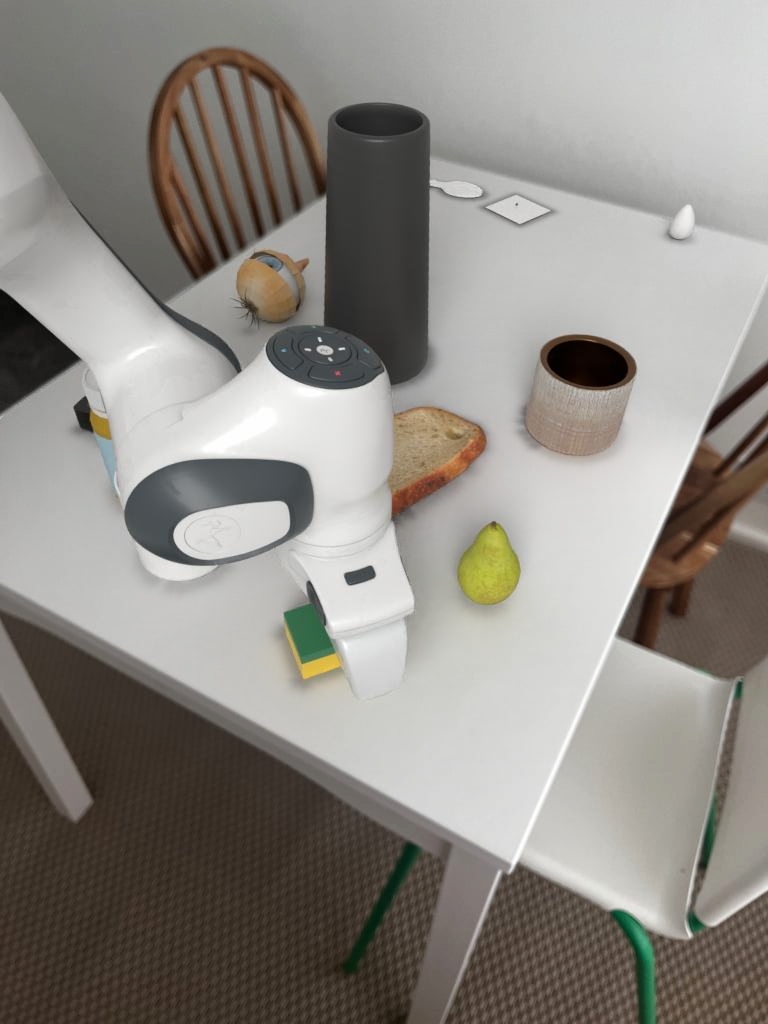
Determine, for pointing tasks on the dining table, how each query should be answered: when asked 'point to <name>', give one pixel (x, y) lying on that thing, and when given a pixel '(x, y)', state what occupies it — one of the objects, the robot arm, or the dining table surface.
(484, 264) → the dining table surface
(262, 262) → the sculpture
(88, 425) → the wireless earbuds
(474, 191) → the spoon
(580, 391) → the planter
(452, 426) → the slice of bread
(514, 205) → the coaster
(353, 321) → the vase
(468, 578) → the fruit
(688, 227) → the egg
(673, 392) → the dining table surface
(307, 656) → the sponge
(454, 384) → the dining table surface
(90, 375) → the bottle
